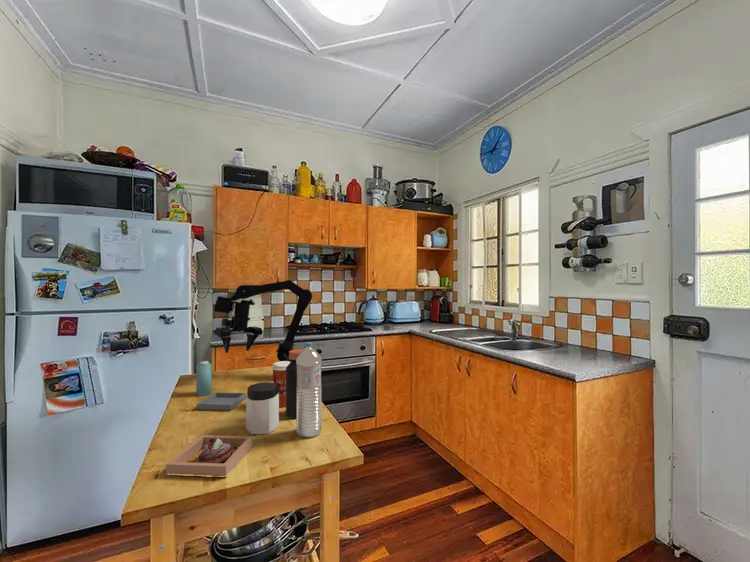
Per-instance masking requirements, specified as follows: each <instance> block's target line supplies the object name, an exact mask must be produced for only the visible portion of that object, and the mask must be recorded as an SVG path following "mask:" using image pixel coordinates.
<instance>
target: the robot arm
mask: <svg viewBox="0 0 750 562" xmlns="http://www.w3.org/2000/svg"><path fill="white" fill-rule="evenodd" d="M284 290H285V291H286V290H289V291H290V292H291V293H293V294H294V295H296V297H297V298H298V299H297V303H296V309H295V312H294V314H293V316H292V320H291V323H290V325H289V327H288V328H289V329H288V331H287V332H286V336H285V339H284V340H283V341H282V340H280V341H279V342H278V347H277V349H276V351H275V352H276V358H277V360H278V362H281V361H290V360H289V351H291V350H293V346H294V341H295V337H296V335H297V333H298V330H299V326H300V324H301V321H302V319H303V316H304V313H305V311H306V310H307V308H308V306H309V304H310V303H311V301H312V299H313V294H312V291H310V289H308V288H302V287H301V286H299V285H298V284H296V283H295V282H294V281H293V280H291V279H287V280H284V281H283V280H282V281H276V282H270V283H265V284H241V285H239V286H237V288H236V289H235V293H234V294H233V295H231V297H226V296H222V295H219V296H217V299H216V301H215V304H214V313H216V314H217V313H219V314H229V315H230V314H231V313H232V312H233V313H234V315H232V316H231V319H229V318H222V320H221V327H219V326H218V327H216V328H215V329H214V333H213V334H214V335H215V336H217V338H220V340H221V341H222V344H223V348H224V351H225V353H226V354H228V353H229V349H230V345H231V339H232V337H231V335H235V334H246V337H247V338H246V345H245V350H246V351H247V352H249V350H250V349H251V347H252V345H254V342H255V341H256V340H257V338H259V337H260V336H261V335H262V336H263V329H262V327H259V326H248V323H249V321H251V317H250V310H251V309H250V308H251V306H254V305H256V302H255V301H254V300H253V299H252V298H251V297H255V296H257V295H260V294H265V293H272V292H277V291H284ZM249 298H250V299H249ZM247 299H249V300H247ZM238 300H240V301H238Z"/></svg>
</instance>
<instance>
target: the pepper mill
mask: <svg viewBox="0 0 750 562" xmlns="http://www.w3.org/2000/svg"><path fill="white" fill-rule="evenodd" d="M195 368H196V369H195V370H196V372H195V377H196V378H195V379H196V381H195V383H196V384H195V385H196V386H195V387H196V388H195V390H196V392H195V393H196V395H197V396H196V395H195V396H196V397H199V396H203V397H208V396H211V395H212V394H213V393H212V363H210V362H209V361H208V360H202V361H199V363H198V364H196V365H195ZM207 395H208V396H207Z"/></svg>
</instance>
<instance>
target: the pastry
mask: <svg viewBox="0 0 750 562" xmlns="http://www.w3.org/2000/svg"><path fill="white" fill-rule="evenodd" d="M212 436H213V437H212V438H211V439H210V440H209V441H207V442H206V444H205V445H204V447H203V448H202V451H201V452H200V454H199V455H198V457H197V458H198V459H197V460H198V461H197V463H218V464H221V463H222V464H224V463H225V461H227V460H228V459H229V458H230V457H231V456H232V455H233V453H234V448H233V447H232V446H231V445H230V444H227V443H222V441H221V440H220V439H217V437H216V436H217V435H212ZM223 462H224V463H223Z"/></svg>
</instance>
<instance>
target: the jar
mask: <svg viewBox="0 0 750 562" xmlns="http://www.w3.org/2000/svg"><path fill="white" fill-rule="evenodd" d="M245 400H246V401H245V418H246V419H245V428H246V430H247V432H249V434H250V435H252V436H254V435H253V434H256V435H268V434H271V433H272V432H273V431H275V430H276V429H277V428H279V427H280V407H279V395H278V394H277V384H275V383H274V382H271V381H270V382H269V381H267V382H266V381H265V382H264V381H263V382H262V381H261V382H258V383H257V382H256V383H254V384H250V385H249V386H248V387H247V391H246V399H245Z"/></svg>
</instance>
